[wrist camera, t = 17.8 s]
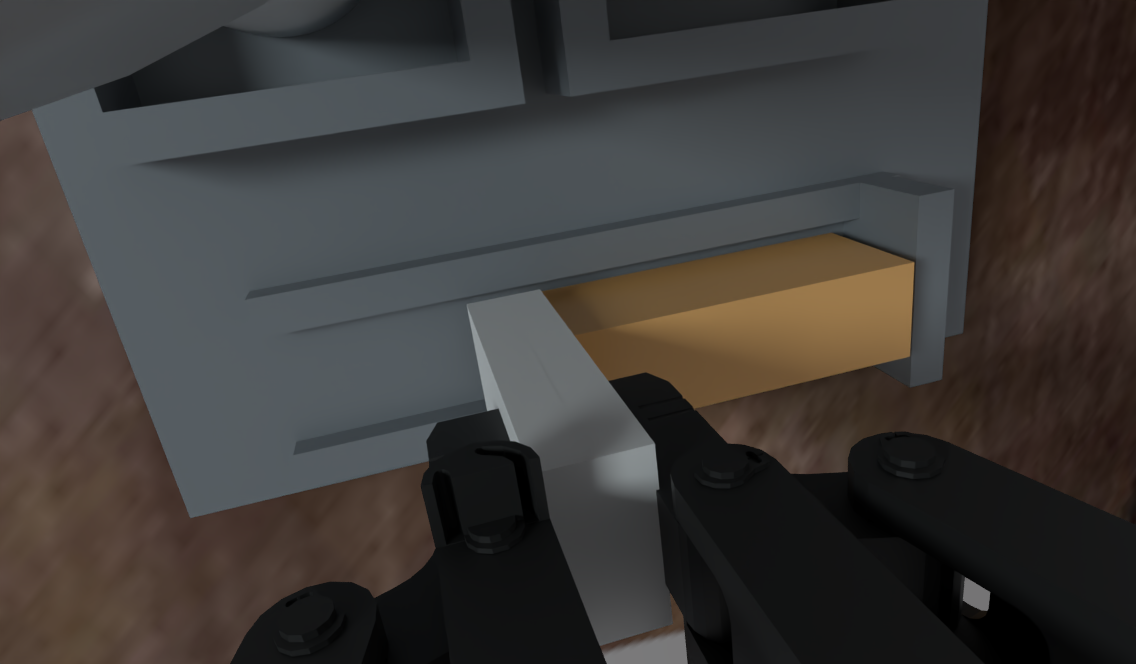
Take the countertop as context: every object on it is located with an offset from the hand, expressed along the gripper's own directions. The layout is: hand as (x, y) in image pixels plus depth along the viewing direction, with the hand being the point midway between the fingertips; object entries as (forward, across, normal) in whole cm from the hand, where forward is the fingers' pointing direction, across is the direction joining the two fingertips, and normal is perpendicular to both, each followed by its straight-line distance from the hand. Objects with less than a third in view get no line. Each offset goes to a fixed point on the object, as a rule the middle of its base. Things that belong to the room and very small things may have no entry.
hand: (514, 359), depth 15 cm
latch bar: (+1, +4, 0) cm, 4 cm away
